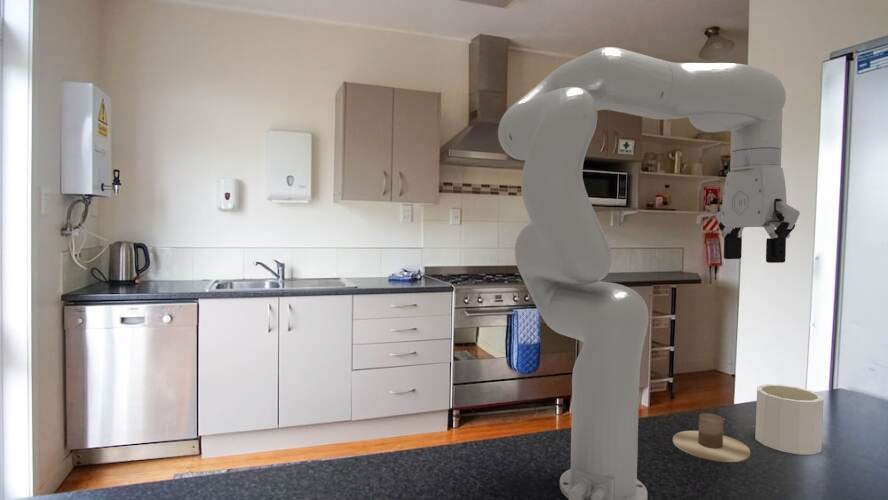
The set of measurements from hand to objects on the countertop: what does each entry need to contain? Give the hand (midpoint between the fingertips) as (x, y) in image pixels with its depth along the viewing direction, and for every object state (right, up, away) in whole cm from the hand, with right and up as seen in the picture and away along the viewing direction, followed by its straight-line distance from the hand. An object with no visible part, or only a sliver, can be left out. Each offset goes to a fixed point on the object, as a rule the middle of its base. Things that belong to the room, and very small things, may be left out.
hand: (752, 260), depth 90 cm
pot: (+10, -34, +7) cm, 37 cm away
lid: (-5, -35, +5) cm, 35 cm away
